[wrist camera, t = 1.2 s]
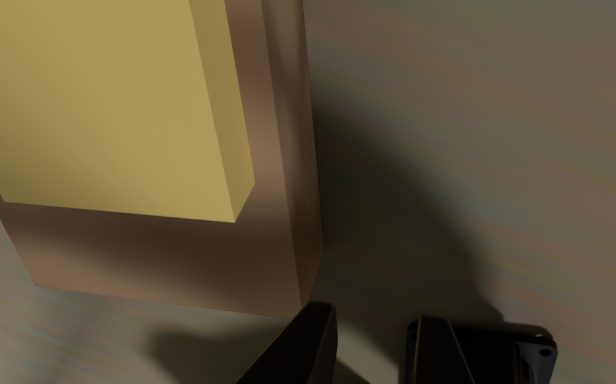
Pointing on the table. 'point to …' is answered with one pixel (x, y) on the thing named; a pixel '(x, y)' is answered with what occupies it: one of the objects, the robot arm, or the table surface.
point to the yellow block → (122, 108)
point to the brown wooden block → (205, 233)
